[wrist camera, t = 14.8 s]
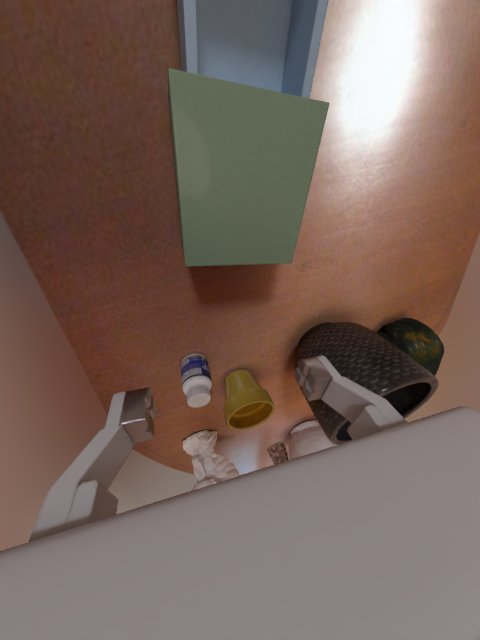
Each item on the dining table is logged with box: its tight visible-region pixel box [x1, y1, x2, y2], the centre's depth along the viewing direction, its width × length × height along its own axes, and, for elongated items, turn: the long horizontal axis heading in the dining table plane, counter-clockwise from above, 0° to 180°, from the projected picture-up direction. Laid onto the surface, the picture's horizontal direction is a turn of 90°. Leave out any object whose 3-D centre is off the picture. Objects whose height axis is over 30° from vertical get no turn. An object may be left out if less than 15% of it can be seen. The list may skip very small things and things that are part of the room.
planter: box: [294, 322, 438, 445], centre depth 41 cm, size 20×20×19 cm
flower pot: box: [224, 369, 274, 430], centre depth 44 cm, size 10×10×10 cm
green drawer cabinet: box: [168, 68, 329, 267], centre depth 22 cm, size 14×13×8 cm
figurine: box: [268, 443, 288, 464], centre depth 79 cm, size 7×7×12 cm
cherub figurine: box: [183, 430, 239, 491], centre depth 54 cm, size 13×12×20 cm
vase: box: [289, 420, 336, 460], centre depth 67 cm, size 19×21×30 cm
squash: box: [378, 318, 444, 376], centre depth 50 cm, size 14×15×15 cm
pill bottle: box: [181, 354, 212, 407], centre depth 37 cm, size 5×5×9 cm
